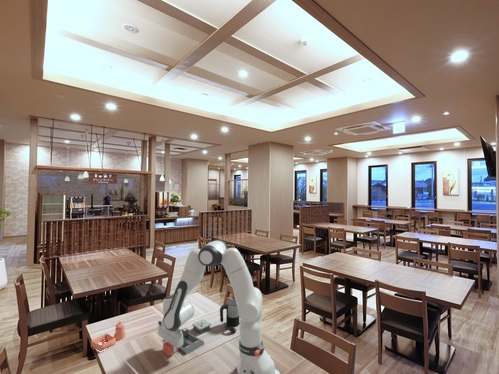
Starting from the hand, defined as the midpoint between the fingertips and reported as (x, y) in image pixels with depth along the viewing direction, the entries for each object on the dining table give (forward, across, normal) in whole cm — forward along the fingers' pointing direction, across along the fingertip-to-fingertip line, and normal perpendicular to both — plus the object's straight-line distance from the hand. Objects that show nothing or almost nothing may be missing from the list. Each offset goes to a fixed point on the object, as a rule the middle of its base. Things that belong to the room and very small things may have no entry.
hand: (170, 348), depth 145 cm
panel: (+2, +2, -10) cm, 11 cm away
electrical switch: (+2, +1, -27) cm, 27 cm away
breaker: (0, +6, -14) cm, 15 cm away
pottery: (+2, +35, +18) cm, 39 cm away
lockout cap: (+2, 0, 0) cm, 2 cm away
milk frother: (+2, -8, -42) cm, 43 cm away
